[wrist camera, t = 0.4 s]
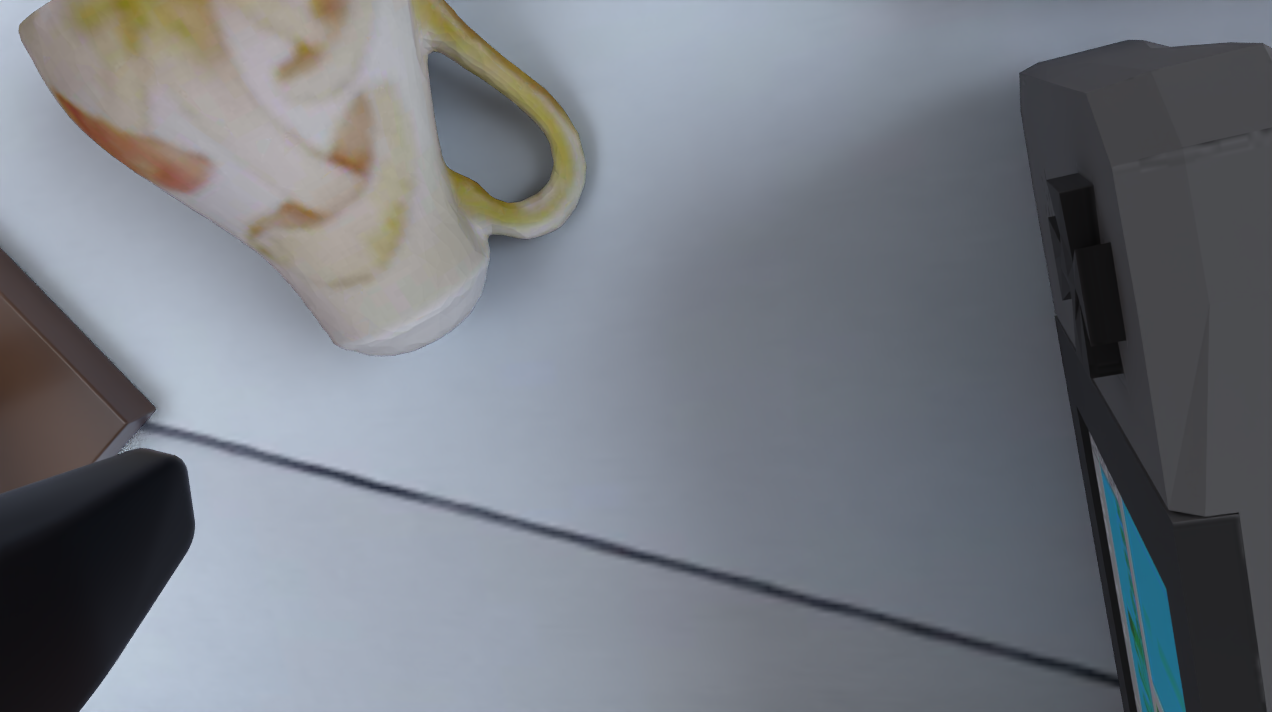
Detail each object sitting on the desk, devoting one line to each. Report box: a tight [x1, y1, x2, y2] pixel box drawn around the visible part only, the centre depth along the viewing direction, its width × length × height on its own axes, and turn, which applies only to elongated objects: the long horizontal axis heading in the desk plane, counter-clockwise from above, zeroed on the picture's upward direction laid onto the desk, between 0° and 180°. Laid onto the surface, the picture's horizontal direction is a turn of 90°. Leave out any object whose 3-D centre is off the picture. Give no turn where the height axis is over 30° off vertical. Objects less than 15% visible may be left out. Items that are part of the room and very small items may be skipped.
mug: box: [19, 0, 586, 356], centre depth 22 cm, size 8×10×10 cm
